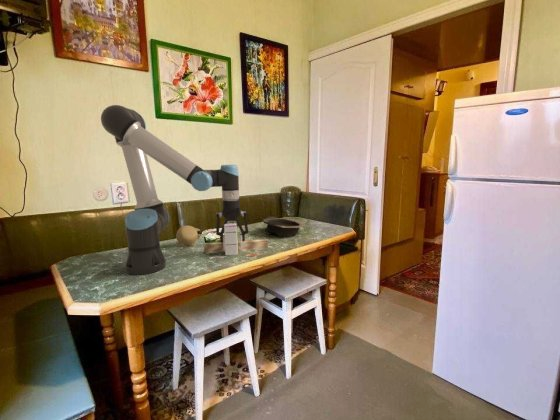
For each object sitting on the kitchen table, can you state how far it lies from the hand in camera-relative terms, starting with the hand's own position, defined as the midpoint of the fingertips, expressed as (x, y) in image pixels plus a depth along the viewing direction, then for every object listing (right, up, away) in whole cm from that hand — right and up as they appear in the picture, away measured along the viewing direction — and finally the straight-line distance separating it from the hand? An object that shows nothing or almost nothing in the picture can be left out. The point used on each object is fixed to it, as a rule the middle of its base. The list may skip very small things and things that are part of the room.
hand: (233, 248), depth 140 cm
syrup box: (-1, -2, +1) cm, 3 cm away
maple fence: (+2, -2, +1) cm, 3 cm away
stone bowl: (+24, +4, +35) cm, 42 cm away
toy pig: (-24, 0, +13) cm, 27 cm away
